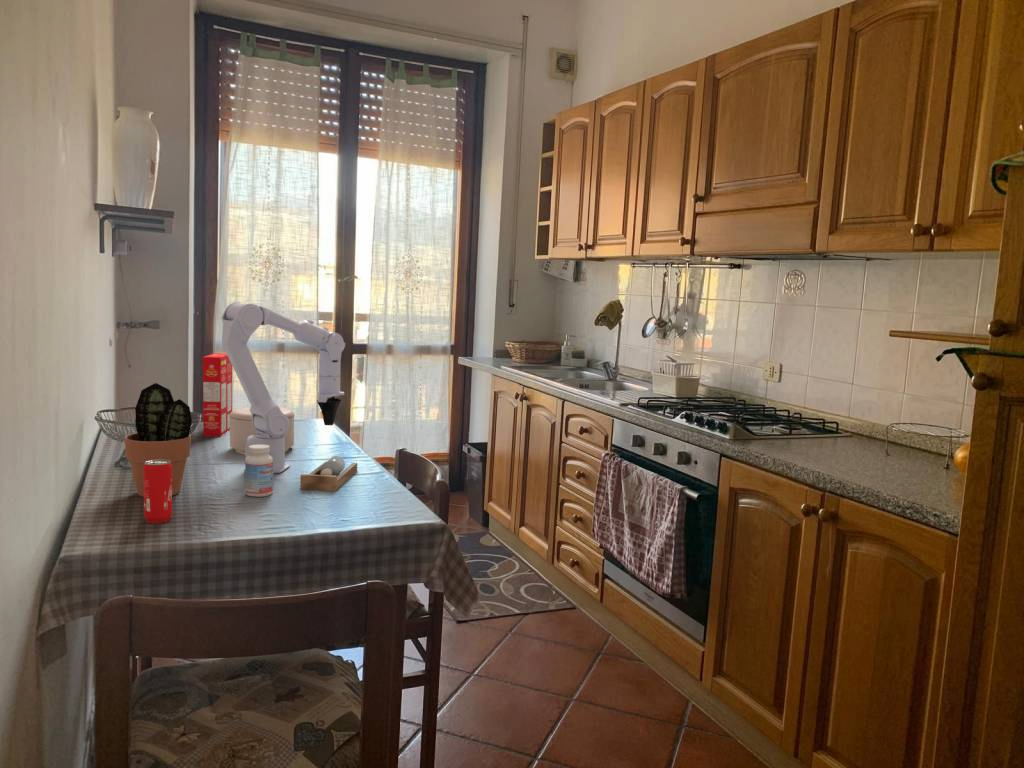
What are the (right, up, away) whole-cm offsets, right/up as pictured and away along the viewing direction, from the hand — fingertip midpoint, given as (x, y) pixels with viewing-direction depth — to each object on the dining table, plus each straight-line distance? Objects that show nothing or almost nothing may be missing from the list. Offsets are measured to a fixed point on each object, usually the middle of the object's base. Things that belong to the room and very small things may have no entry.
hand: (328, 424), depth 212 cm
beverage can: (-21, -16, -57) cm, 63 cm away
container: (-23, -8, +14) cm, 28 cm away
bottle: (+5, -9, -13) cm, 17 cm away
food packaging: (-45, -5, +38) cm, 59 cm away
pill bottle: (-8, -14, -34) cm, 38 cm away
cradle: (+5, -13, -18) cm, 22 cm away
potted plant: (-30, -14, -36) cm, 49 cm away
